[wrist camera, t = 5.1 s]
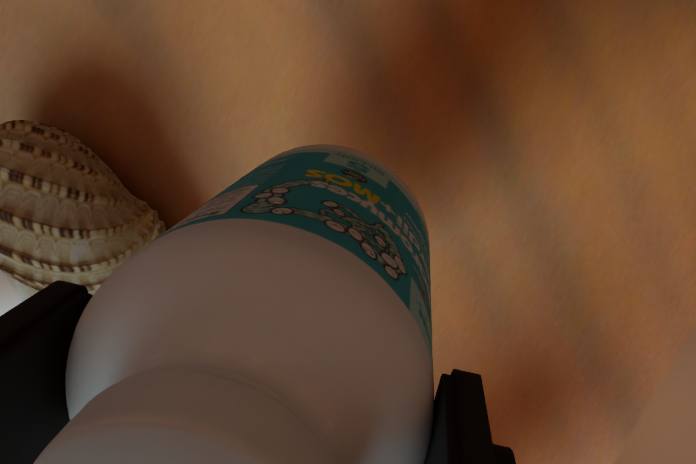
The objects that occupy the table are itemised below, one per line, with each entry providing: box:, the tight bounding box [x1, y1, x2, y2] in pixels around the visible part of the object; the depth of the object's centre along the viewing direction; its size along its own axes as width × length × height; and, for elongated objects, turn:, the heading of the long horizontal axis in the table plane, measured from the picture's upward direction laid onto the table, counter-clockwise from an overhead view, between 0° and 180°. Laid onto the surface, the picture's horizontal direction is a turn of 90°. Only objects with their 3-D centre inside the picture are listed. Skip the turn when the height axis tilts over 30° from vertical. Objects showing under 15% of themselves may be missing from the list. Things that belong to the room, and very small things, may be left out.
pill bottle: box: [33, 145, 434, 464], centre depth 14 cm, size 8×7×14 cm
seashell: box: [0, 120, 166, 295], centre depth 23 cm, size 8×6×10 cm
